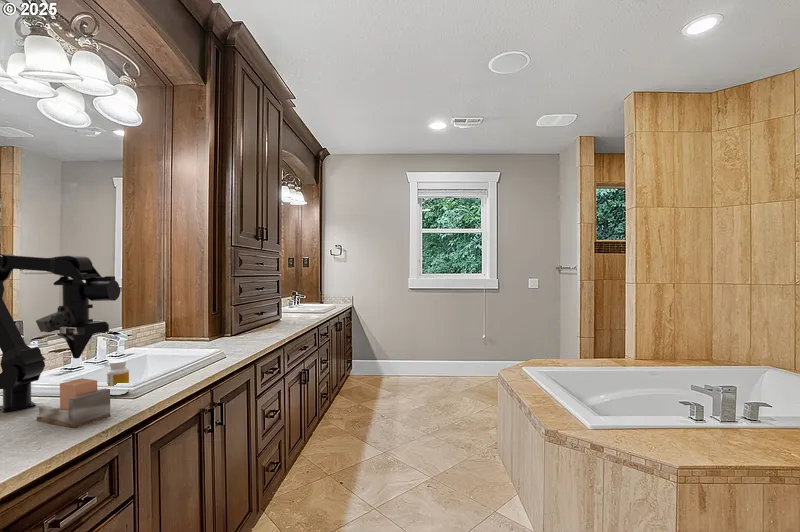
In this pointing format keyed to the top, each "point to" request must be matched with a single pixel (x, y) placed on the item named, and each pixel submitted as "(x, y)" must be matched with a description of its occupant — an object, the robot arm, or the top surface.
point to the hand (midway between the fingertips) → (76, 358)
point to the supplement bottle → (117, 373)
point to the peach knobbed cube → (75, 390)
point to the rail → (79, 410)
